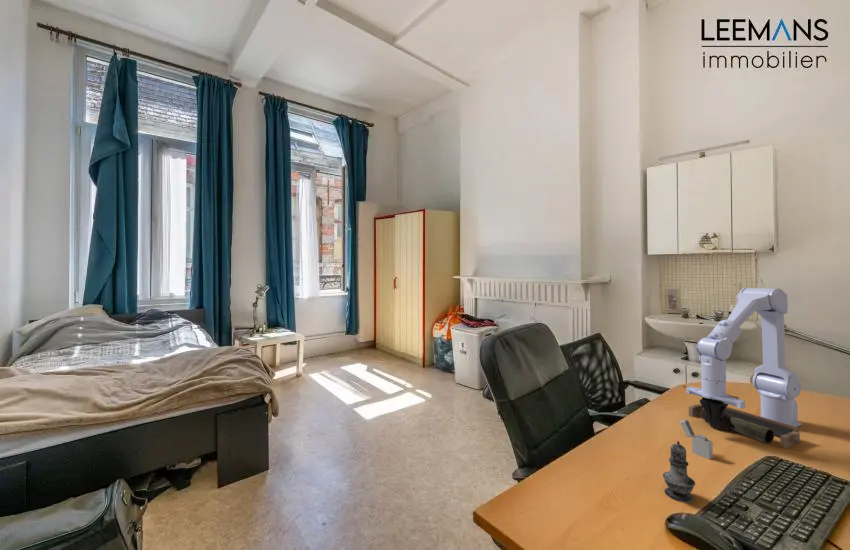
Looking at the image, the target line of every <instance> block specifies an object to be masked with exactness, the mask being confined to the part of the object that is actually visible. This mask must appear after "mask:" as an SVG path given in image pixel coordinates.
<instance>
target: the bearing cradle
mask: <svg viewBox="0 0 850 550" xmlns="http://www.w3.org/2000/svg"><path fill="white" fill-rule="evenodd" d="M702 408H703V406H702V404H701V403H696V404H694V405H689V406H688V416H689V415H690V417H692V418H693V417H696V415H697V416H700V415H699V414H700V413H701V409H702ZM724 413H726V414H727V415H729V416H731V417H734V418H739V419H742V420H745V421H748V422H751V423H754V424H757V425H760V426H763V427H766V428H769V429H771V430H773V431H774V434H773V435H774V437H775V436H776V437H778V438H780V447H781V448H783V449H789V448H791V447H792V448H793V446H796V445H799V444H800V443H801V442H800V441H801V439H800V434H801V433H800V428H799V426H797V427H795V426H791V425H788V424H784V423H781V422H778V421H774V420H771V419H767V418H764V417H761V415H756V414H753V413H750V412H747V411H743V410H739V409H737V408H733V407H729V406H727V407H726V408H725V410H724Z"/></svg>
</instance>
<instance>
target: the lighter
mask: <svg viewBox="0 0 850 550" xmlns="http://www.w3.org/2000/svg"><path fill="white" fill-rule="evenodd" d="M679 423H680V425H681V428H682V430H683V432H684V434H685V436H686V437H687V438H691V453H692V454H695V455H697V456H699V457H702V458H705V459H707V460H711V459H714V458H713V456H714V455H713V453H714V452H713V450H714V449H713V444H714V443H713V441H712V440H709V439H708V437H707V435H704V434H701V433H697V435H696V434H695V432H694V430H693V428H692V425H691V424H690V421H689V420H688V419H682V420H680V421H679Z"/></svg>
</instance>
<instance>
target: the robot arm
mask: <svg viewBox="0 0 850 550" xmlns="http://www.w3.org/2000/svg"><path fill="white" fill-rule="evenodd" d="M736 299H737V304H736V305H735V306H734V308H733V309H732V311H731V313H730V314H729V316H728V318H727V319H722V320H720V321H719V322H717V325H715V326H714V328H713V329H712V331H710V333H709V334H708V335H707V337H706V336H705V337H702V338H700V339H699V340H698V341H697V343H696V346H695V352H696V354H698V360H699V362H700V367H701V368H700V375H701V380H700V381H701V388H699V387H696V386H695V387H694V386H691V385H689V386H685V394H687V395H693V396H697V397H701V399H699V404H702V406H703V408H704V410H705V412H706V414H707V417H708V420H709V423H710V424H711V425H714V426H716V425H719V421H720V418H721V415H722V413H723V412H724V410H725V408H726V407H729V406H731V407H736V409H741V410H742V409H745V408H746V400H743V399H740V398H737V397H734V396H732V395H729V394H727V364H726V363H727V361H726V360H728V359H729V358H730V357H731V353H732V349H733V346H734V345H733V343H735V341H736V340H737V339H738V337H739V336H740V335H741V334H742V328H741V326H742V325H744V323H745V322H746V321H747V320H748V319H749V318H750V317H751V316H752V315H753V314H754V313H755V312H756V313H757V314H758V315H759V316H761V341H762V364H761V365H758V366H757V367H754V373H753V377H752V385H753V387H754V389H755V390H757V394H760V417H764V418H767V419H771V420H774V421H778V422H781V423H784V424H788V425H791V426H795V427H800V426H802V425H803V424H802V423H801V422H799V421H798V418H799V417H798V415H799V414H798V413H799V411H798V407H799V406H798V402H797V401H796V398H798V397H799V396H800V394H801V390H802V388H801V387H802V386H801V383H800V381H799V377H798V376H799V375H798V373H797V372H795V371H794V370H792V369H791V368H790V367H788V366H787V365H786V363H787V362H786V339H785V338H786V335H785V329H786V328H785V315H786V314H788V311H789V310H788V309H789V308H788V307H789V305H788V294H787V293H786V292H785V291H784V290H783V289H781V288H779V287H776V288H768V287H767V288H765V287H764V288H762V287H742V288H741V289H740V290H739V292H738V294H737V295H736ZM709 423H708V424H709ZM710 424H709V425H710Z"/></svg>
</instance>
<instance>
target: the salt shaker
mask: <svg viewBox="0 0 850 550" xmlns="http://www.w3.org/2000/svg"><path fill="white" fill-rule="evenodd" d="M669 450H670V457H669V458H668V462H669V463H670V464H669V466H670V469H669V471H665V472H663V474H662V477H663V479H664V482H665V484H666V486H667V487H666V488H664V493H665V495H666V496H667V497H669V498H670V499H672V500H674V501H677V502H679V503H686V504H687V503H689V504H690V503H693V502H694V501H695V497H694V496H693V495H692V494H691V493H692V492H693V489H694V487H695V486H696V481H695V480H694V479H693V478H692V477H690V476H689V475H688V466H689V462H688V461H687V449H686V447H685V446H684V445H682V444H681V443H680V441H679V440H677V441H676V443H674V444H671V445H670V449H669Z"/></svg>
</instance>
